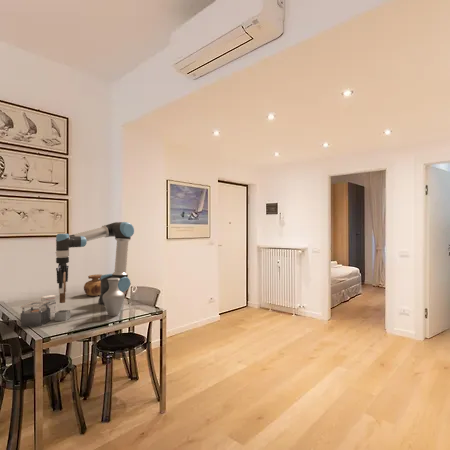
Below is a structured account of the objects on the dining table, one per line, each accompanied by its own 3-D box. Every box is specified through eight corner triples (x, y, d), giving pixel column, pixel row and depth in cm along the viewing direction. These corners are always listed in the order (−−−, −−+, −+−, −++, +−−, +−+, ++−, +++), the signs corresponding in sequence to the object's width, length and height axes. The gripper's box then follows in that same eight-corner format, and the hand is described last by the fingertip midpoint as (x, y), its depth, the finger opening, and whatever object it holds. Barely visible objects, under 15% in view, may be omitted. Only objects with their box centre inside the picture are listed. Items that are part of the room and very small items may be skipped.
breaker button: (40, 317, 201) (40, 309, 201) (37, 319, 197) (37, 311, 197) (34, 317, 201) (34, 309, 201) (30, 319, 197) (30, 311, 197)
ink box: (44, 314, 219) (44, 297, 219) (40, 313, 221) (40, 296, 221) (56, 311, 226) (56, 295, 226) (52, 310, 229) (52, 294, 229)
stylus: (66, 301, 210) (66, 271, 210) (63, 302, 206) (64, 272, 206) (60, 301, 209) (61, 271, 210) (58, 303, 206) (58, 272, 206)
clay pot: (94, 295, 267) (88, 272, 271) (82, 301, 276) (76, 279, 281) (113, 291, 283) (107, 269, 287) (101, 296, 292) (95, 276, 297)
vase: (97, 316, 213) (97, 279, 213) (112, 311, 226) (112, 276, 227) (115, 318, 208) (114, 280, 208) (129, 313, 221) (128, 277, 221)
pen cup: (70, 317, 212) (70, 309, 212) (65, 320, 205) (65, 312, 205) (59, 317, 211) (59, 310, 211) (54, 320, 204) (54, 313, 204)
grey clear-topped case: (50, 320, 205) (50, 301, 205) (40, 326, 193) (40, 305, 193) (31, 320, 204) (31, 301, 205) (20, 326, 193) (20, 306, 193)
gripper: (62, 255, 216) (62, 290, 216) (50, 258, 200) (50, 295, 199) (73, 255, 217) (73, 289, 216) (62, 258, 200) (62, 295, 200)
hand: (62, 292), depth 208 cm, fingers closed on stylus, 3 cm apart
